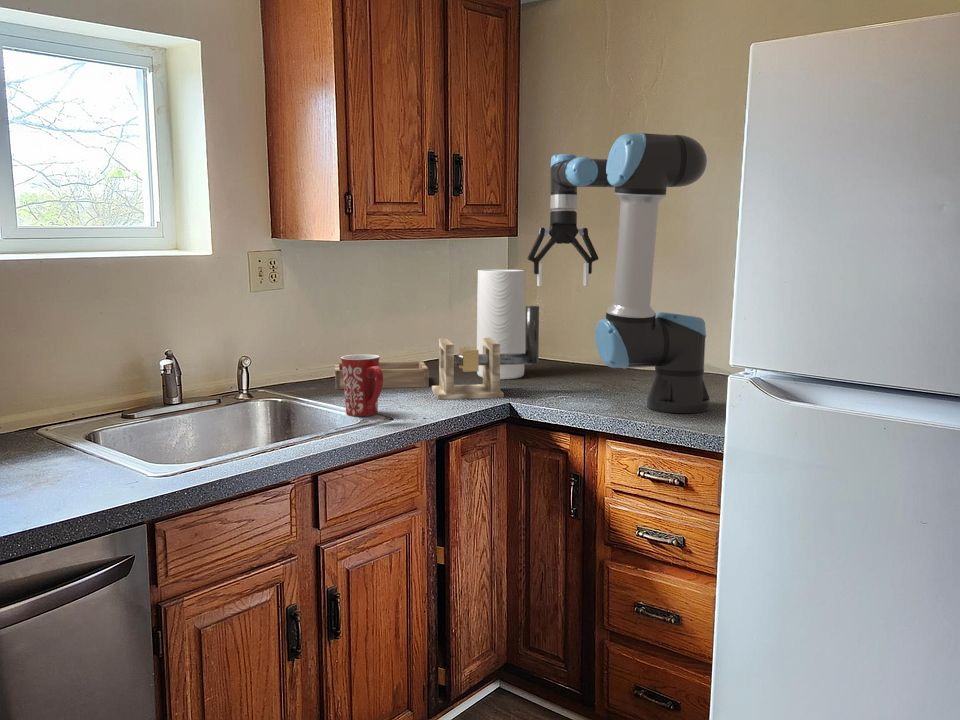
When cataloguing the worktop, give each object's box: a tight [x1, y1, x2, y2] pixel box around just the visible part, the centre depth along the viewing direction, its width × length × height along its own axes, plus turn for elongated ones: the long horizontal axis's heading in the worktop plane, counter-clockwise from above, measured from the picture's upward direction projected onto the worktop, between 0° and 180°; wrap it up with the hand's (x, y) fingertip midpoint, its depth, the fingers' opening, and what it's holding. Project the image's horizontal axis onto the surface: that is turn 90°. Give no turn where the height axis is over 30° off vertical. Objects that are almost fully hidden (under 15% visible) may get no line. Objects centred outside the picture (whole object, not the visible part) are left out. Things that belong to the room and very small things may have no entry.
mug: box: [340, 353, 383, 417], centre depth 195 cm, size 13×9×14 cm
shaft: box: [442, 305, 540, 367], centre depth 222 cm, size 26×4×16 cm, turn 100°
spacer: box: [458, 346, 479, 373], centre depth 222 cm, size 7×4×6 cm, turn 10°
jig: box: [431, 338, 505, 400], centre depth 222 cm, size 17×14×14 cm
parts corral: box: [334, 360, 430, 390], centre depth 239 cm, size 15×25×5 cm, turn 100°
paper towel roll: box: [476, 269, 526, 381], centre depth 250 cm, size 14×14×32 cm
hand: (562, 285), depth 242 cm, fingers open, 13 cm apart
